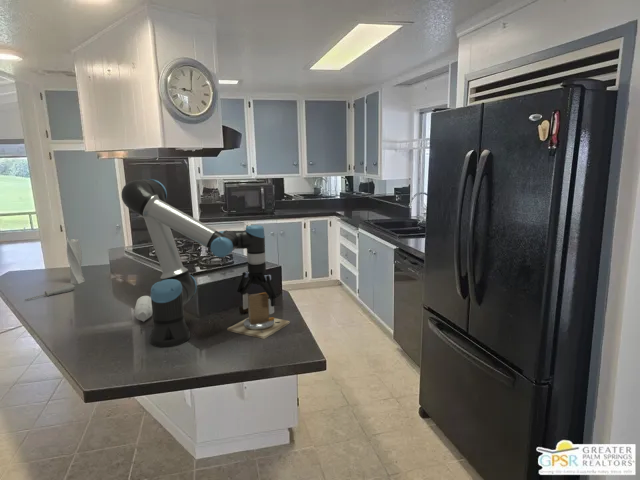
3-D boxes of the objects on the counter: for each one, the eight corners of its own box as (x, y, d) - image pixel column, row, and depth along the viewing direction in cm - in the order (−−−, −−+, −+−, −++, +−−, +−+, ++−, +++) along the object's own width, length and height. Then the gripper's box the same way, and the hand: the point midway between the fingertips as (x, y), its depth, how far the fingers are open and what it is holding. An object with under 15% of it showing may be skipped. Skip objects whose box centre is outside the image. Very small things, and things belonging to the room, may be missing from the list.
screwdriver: (23, 304, 225) (21, 296, 225) (73, 290, 244) (71, 283, 244) (26, 303, 222) (24, 296, 222) (77, 289, 241) (75, 282, 241)
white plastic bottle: (133, 326, 187) (131, 309, 186) (137, 312, 205) (135, 296, 203) (152, 324, 189) (150, 307, 188) (154, 310, 207) (153, 294, 206)
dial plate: (227, 330, 180) (227, 328, 180) (255, 316, 197) (254, 313, 196) (264, 338, 171) (263, 336, 171) (289, 323, 188) (289, 320, 187)
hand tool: (243, 315, 199) (243, 305, 198) (238, 313, 202) (238, 303, 201) (276, 306, 212) (276, 297, 211) (271, 304, 214) (271, 295, 214)
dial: (248, 332, 175) (247, 300, 173) (240, 321, 187) (238, 291, 184) (278, 326, 181) (277, 295, 178) (268, 316, 192) (267, 287, 190)
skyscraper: (67, 284, 256) (61, 237, 251) (76, 280, 263) (70, 235, 258) (78, 284, 254) (73, 238, 249) (87, 281, 262) (82, 235, 257)
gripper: (286, 263, 176) (287, 312, 180) (238, 257, 188) (241, 304, 192) (276, 267, 170) (277, 318, 173) (227, 261, 182) (230, 309, 185)
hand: (258, 310), depth 183 cm, fingers open, 13 cm apart
